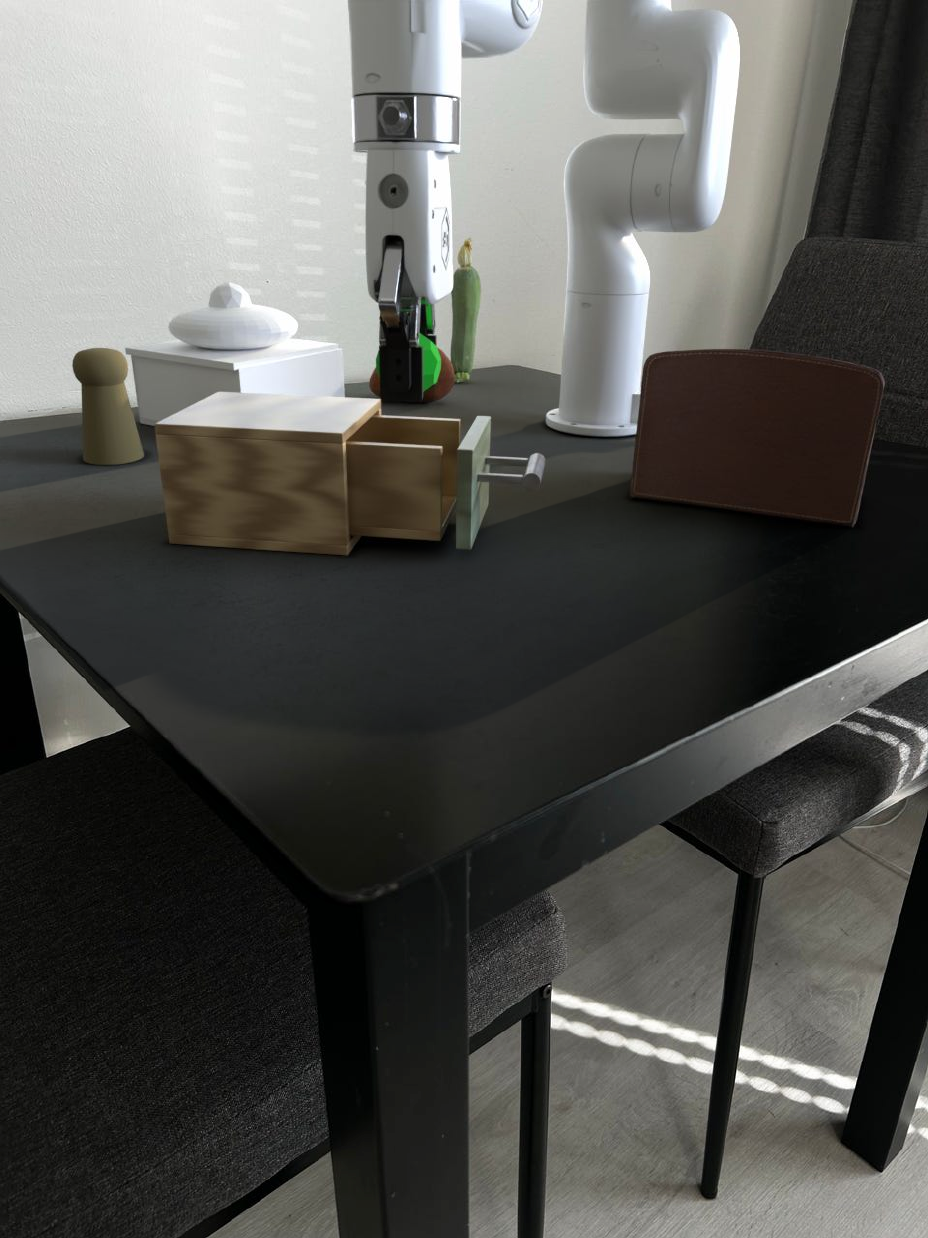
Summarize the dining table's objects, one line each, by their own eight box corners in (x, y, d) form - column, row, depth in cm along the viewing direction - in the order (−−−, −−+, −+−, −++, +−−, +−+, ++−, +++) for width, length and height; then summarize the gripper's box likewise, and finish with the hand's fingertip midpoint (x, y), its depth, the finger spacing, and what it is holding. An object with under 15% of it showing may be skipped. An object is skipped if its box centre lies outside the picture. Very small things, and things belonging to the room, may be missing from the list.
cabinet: (383, 506, 82) (381, 398, 78) (347, 555, 71) (342, 433, 67) (228, 496, 84) (218, 391, 80) (169, 543, 73) (153, 423, 69)
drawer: (544, 508, 79) (549, 418, 76) (535, 554, 69) (540, 453, 66) (339, 495, 82) (335, 408, 78) (300, 539, 71) (294, 440, 68)
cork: (125, 466, 92) (108, 354, 88) (71, 462, 93) (52, 351, 89) (154, 451, 98) (141, 345, 93) (103, 448, 99) (87, 343, 94)
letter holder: (855, 528, 78) (890, 360, 73) (627, 499, 85) (642, 343, 79) (855, 496, 87) (887, 344, 81) (648, 472, 93) (663, 329, 87)
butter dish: (345, 415, 115) (340, 281, 108) (241, 445, 101) (228, 293, 94) (244, 398, 123) (233, 273, 116) (135, 423, 109) (116, 282, 102)
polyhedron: (369, 391, 72) (367, 328, 70) (426, 387, 74) (426, 326, 72) (389, 404, 68) (388, 338, 66) (450, 399, 70) (450, 335, 68)
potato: (373, 393, 128) (372, 334, 124) (455, 395, 127) (456, 336, 124) (366, 405, 121) (364, 342, 117) (453, 407, 120) (454, 344, 117)
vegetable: (449, 378, 139) (450, 236, 130) (477, 378, 139) (480, 236, 130) (451, 384, 135) (452, 237, 126) (480, 384, 135) (483, 238, 126)
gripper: (439, 121, 55) (438, 419, 63) (475, 136, 71) (471, 375, 78) (319, 120, 56) (333, 414, 64) (381, 136, 72) (386, 372, 79)
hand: (409, 390), depth 71 cm, fingers closed on polyhedron, 5 cm apart
